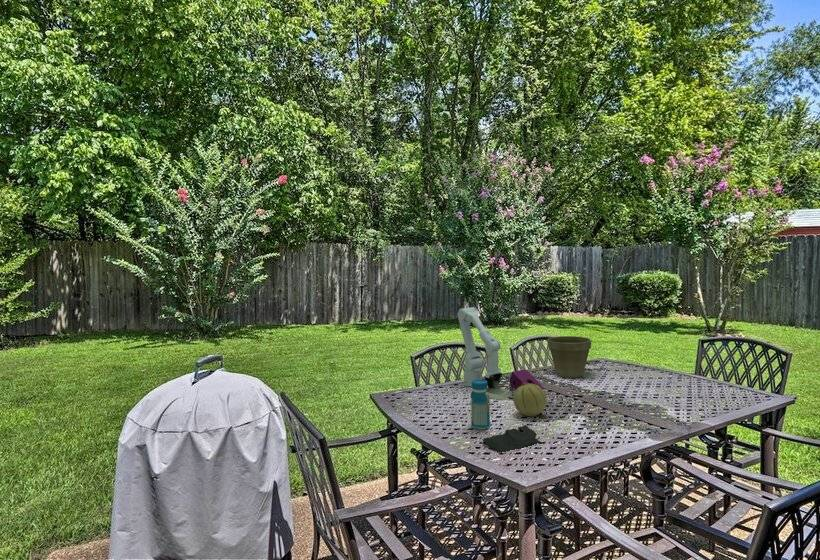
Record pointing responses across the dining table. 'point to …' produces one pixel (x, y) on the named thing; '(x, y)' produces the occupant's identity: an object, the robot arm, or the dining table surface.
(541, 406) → the cantaloupe
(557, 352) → the plant pot
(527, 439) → the dark slate chunk
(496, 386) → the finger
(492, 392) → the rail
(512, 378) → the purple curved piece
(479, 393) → the beverage bottle
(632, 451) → the dining table surface
